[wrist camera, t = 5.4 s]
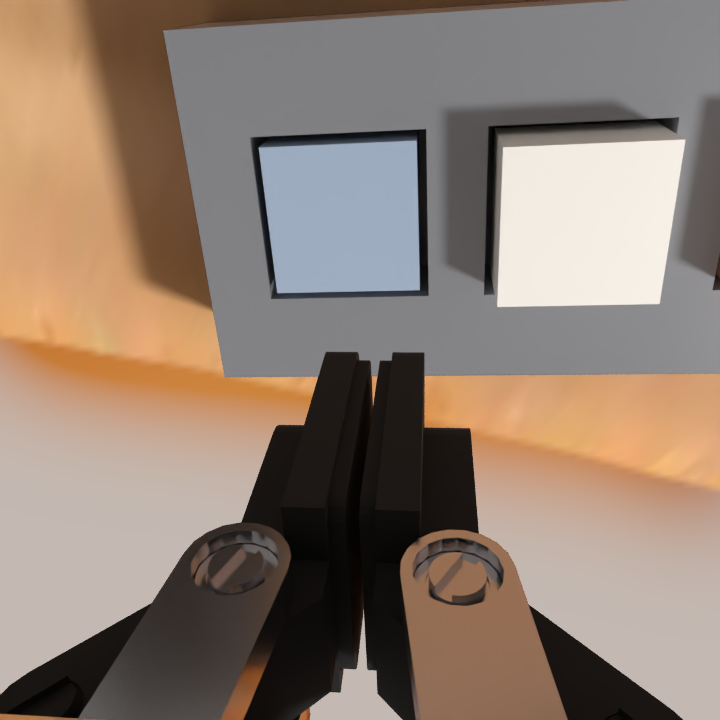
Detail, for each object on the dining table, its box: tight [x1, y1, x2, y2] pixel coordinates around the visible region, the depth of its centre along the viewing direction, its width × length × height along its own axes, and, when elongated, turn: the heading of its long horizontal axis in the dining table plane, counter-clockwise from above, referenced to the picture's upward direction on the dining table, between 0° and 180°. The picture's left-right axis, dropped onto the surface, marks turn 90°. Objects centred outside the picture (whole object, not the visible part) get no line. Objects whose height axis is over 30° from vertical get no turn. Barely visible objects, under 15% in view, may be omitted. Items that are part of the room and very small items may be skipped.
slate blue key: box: [259, 129, 421, 293], centre depth 24 cm, size 5×5×3 cm
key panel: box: [163, 0, 720, 377], centre depth 24 cm, size 12×25×4 cm, turn 93°
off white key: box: [490, 121, 686, 307], centre depth 22 cm, size 5×5×3 cm
